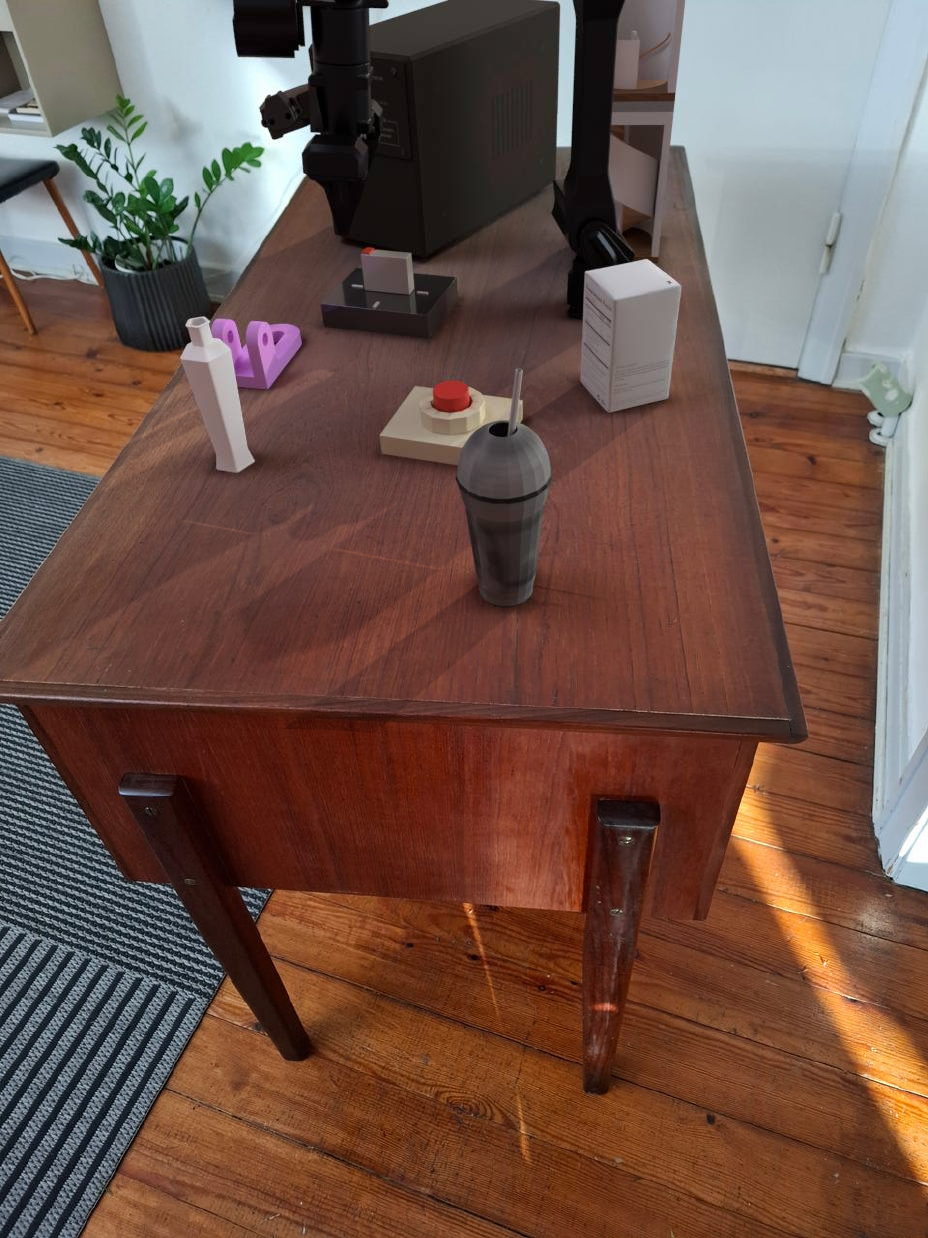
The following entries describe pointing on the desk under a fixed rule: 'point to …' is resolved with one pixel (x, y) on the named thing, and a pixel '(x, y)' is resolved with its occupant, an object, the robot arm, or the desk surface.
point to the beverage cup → (505, 504)
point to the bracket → (258, 350)
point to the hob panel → (390, 306)
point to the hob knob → (387, 271)
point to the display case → (644, 118)
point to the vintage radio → (458, 119)
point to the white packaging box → (628, 334)
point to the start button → (451, 396)
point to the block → (440, 425)
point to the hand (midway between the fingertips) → (348, 219)
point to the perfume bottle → (216, 395)
